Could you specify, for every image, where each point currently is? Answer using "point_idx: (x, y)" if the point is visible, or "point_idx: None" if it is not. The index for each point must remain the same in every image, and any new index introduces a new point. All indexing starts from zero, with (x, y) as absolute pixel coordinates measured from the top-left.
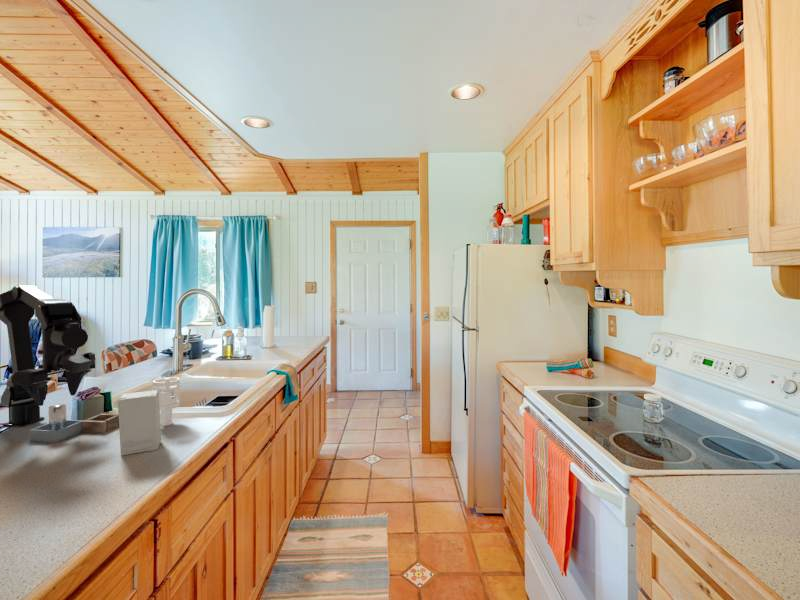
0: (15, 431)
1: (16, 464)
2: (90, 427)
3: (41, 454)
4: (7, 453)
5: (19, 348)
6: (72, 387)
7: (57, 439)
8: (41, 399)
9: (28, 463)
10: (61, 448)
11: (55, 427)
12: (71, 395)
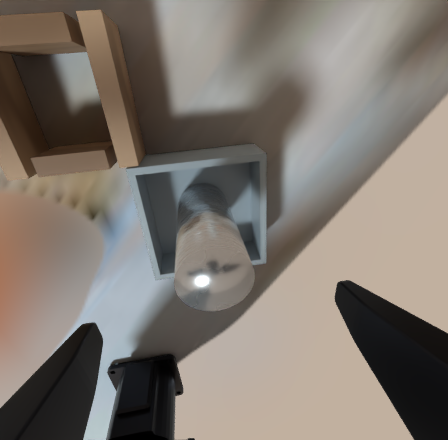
0: (202, 338)
1: (428, 87)
2: (131, 110)
3: (358, 83)
4: (341, 206)
5: None
6: (69, 405)
7: (254, 146)
8: (394, 307)
9: (429, 48)
10: (307, 56)
11: (227, 206)
12: (100, 335)
